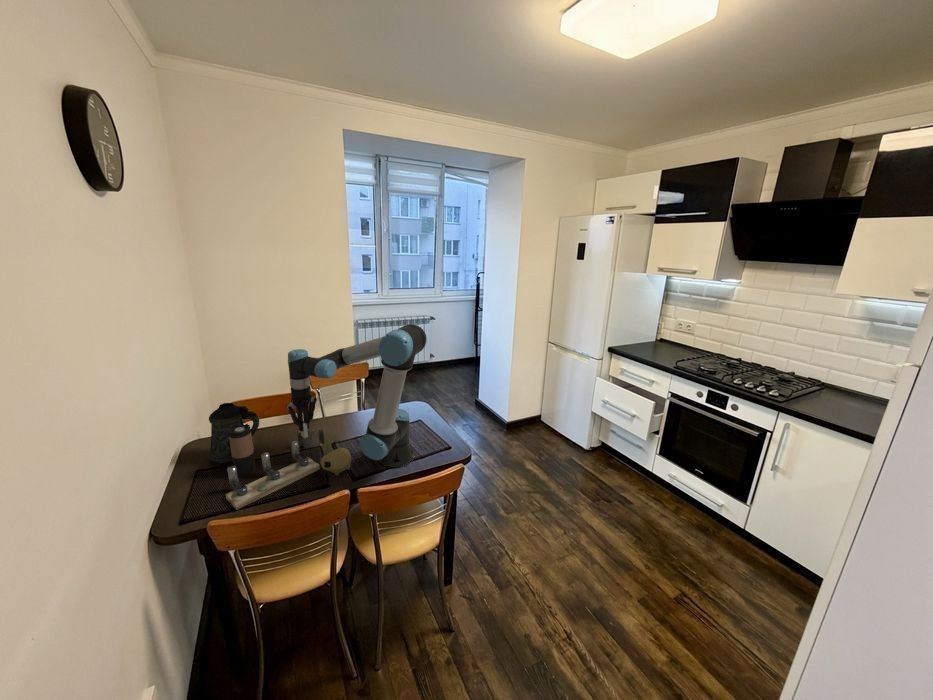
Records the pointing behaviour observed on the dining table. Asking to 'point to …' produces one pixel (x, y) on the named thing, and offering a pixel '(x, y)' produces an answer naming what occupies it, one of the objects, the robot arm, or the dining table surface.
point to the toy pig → (336, 461)
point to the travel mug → (242, 449)
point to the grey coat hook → (296, 454)
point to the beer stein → (220, 424)
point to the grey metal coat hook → (236, 481)
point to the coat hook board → (271, 483)
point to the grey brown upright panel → (311, 439)
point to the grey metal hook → (269, 466)
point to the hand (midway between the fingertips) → (304, 436)
